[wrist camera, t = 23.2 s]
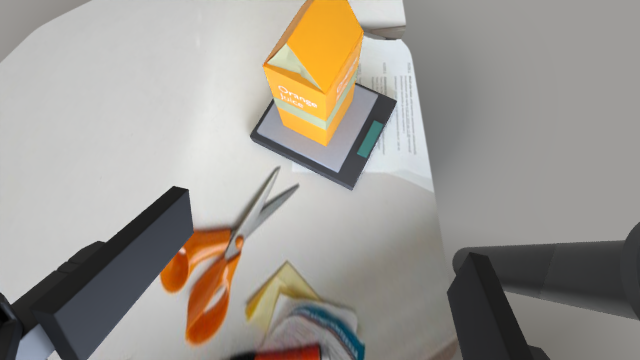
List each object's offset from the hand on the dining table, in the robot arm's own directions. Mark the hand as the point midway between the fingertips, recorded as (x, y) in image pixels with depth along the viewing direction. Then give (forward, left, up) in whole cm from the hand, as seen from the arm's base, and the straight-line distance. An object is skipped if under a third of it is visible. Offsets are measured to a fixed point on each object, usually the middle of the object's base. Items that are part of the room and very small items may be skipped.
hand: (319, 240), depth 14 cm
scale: (+9, -18, -30) cm, 36 cm away
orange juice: (+10, -18, -27) cm, 34 cm away
